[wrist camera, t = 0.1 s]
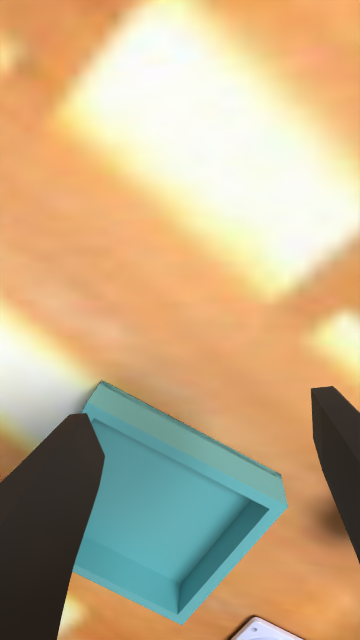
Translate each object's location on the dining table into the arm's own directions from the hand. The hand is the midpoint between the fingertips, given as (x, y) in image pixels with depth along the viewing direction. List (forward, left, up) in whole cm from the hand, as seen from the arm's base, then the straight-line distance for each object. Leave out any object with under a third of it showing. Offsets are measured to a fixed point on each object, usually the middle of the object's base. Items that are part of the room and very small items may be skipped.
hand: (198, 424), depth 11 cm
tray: (-14, -3, -11) cm, 18 cm away
